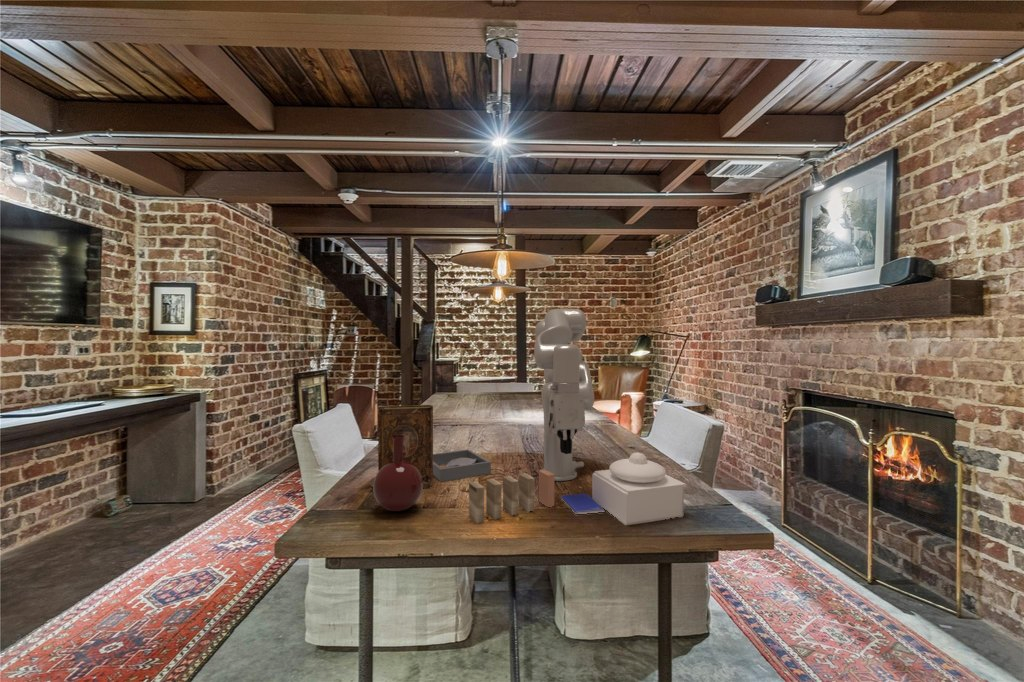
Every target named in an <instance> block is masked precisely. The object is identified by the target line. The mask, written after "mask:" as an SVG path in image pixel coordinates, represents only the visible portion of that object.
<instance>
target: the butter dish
mask: <svg viewBox="0 0 1024 682" xmlns="http://www.w3.org/2000/svg"><path fill="white" fill-rule="evenodd" d="M591 478H592V479H591V481H592V483H591V485H592V486H591V490H592V492H591V493H592V495H591V496H592V497H591V498H592V499H593V500H594V501H595V502H596V503H597V504H599V505H600V506H602V507H603V508H604V509H605V510H607V511H608V512H609V513H610V514H609V513H608V512H607V511H606V512H607V513H608V514H609V515H611V514H612V515H613V516H614V517H613V516H612V515H611V516H612V517H613V518H615V517H616V518H617V519H618V521H619V522H620V523H621V524H622V525H624V526H631V525H637V524H646V523H651V522H656V521H657V522H658V521H664V520H665V519H666V520H671V519H670V518H672V519H676V518H675V517H679V518H683V516H684V514H685V513H684V508H685V507H684V505H685V504H684V502H685V501H684V499H685V496H684V495H685V489H684V488H686V487H687V484H686V483H685V482H682V481H680V480H679V479H676V478H674V477H672V476H670V475H667V473H666V469H665V467H664V466H662V465H660V463H657V462H654V461H652V460H649V459H648V458H647V456H645V454H644V453H641V452H633V453H631V455H630V456H629V458H622V459H618V460H616V461H614V462H612V463H611V464H610V465H609V469H602V470H595V471H594V472H593V473H592V477H591ZM616 518H615V519H616ZM617 519H616V520H617Z"/></svg>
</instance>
